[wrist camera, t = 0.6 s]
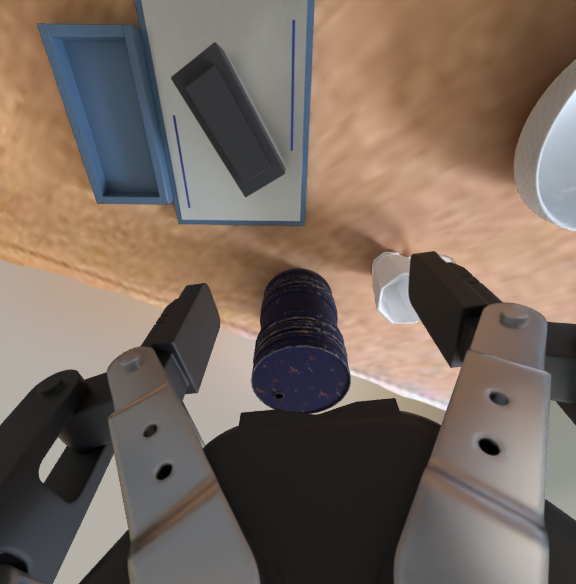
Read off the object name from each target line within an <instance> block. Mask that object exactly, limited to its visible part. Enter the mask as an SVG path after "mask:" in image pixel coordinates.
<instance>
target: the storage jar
mask: <svg viewBox="0 0 576 584" xmlns="http://www.w3.org/2000/svg"><path fill="white" fill-rule="evenodd" d="M337 320H338V319H337V310H336V306H335V302H334V298H333V296H332V292H331V289H330V287H329V285H328V283H327V282H326V281H325V279H324V278H322V277H321V276H320V275H318V274H317V273H315V272H312V271H309V270H305V269H292V270H288V271H284V272H282V273H280V274H278V275H277V276H275V277H274V278H273V279H272V280H271V281H270V282H269V284H268V285H267V287H266V289H265V293H264V298H263V302H262V306H261V316H260V325H261V331H260V332H259V335H258V337H257V340H256V345H255V352H254V359H253V363H254V365H253V371H252V379H251V383H252V388H253V391H254V393H255V394H256V396H257V397H258V398H259V399H260V401H262V402H263V403H264V404H265V405H267V406H269V407H270V408H272V409H279V410H285V411H292V412H299V413H306V414H313V413H318V412H321V411H324V410H327V409H329V408H331V407H333V406H334V405H336V404H337V403H338V402H340V401H341V400H342V399H343V398H344V397H345V395H346V394H347V392H348V390H349V387H350V384H351V376H350V371H349V367H348V362H347V353H346V349H345V345H344V340H343V336H342V334H341V332H340V331H339V329H338V327H337Z"/></svg>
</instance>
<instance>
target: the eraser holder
mask: <svg viewBox="0 0 576 584" xmlns="http://www.w3.org/2000/svg"><path fill="white" fill-rule="evenodd" d="M37 26H38V29H39V32H40V35H41V38H42V41H43V44H44V47H45V50H46V53H47V56H48V59H49V62H50V65H51V67H52V70H53V73H54V76H55V79H56V82H57V85H58V88H59V91H60V94H61V97H62V100H63V103H64V106H65V109H66V112H67V115H68V118H69V121H70V124H71V127H72V130H73V133H74V136H75V139H76V142H77V145H78V148H79V151H80V154H81V157H82V160H83V163H84V166H85V169H86V172H87V175H88V178H89V181H90V184H91V187H92V190H93V193H94V196H95V199H96V202H97V204H160V205H161V204H162V205H168V204H170V203H171V202H173V201H174V199H173V193H172V188H171V183H170V178H169V173H168V168H167V163H166V158H165V153H164V147H163V142H162V137H161V132H160V127H159V122H158V117H157V112H156V106H155V101H154V96H153V91H152V86H151V81H150V76H149V71H148V65H147V60H146V55H145V50H144V45H143V40H142V35H141V30H139V29H138V28H136V27H134V26H132V25H114V24H37Z"/></svg>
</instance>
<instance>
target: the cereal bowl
mask: <svg viewBox="0 0 576 584" xmlns="http://www.w3.org/2000/svg"><path fill="white" fill-rule="evenodd" d="M513 168H514V179H515V184H516V186H517V190H518V192H519V194H520V196H521V198H522V199H523V201H524V203H525V204H526V205H527V206H528V207H529V209H531V210H532V211H533V212H534V213H536V214H537V215H538V216H539V217H541V218H543V219H544V220H546V221H549V222H550V223H552V224H555V225H557V226H558V227H563V228H565V229H567V230H573V231H576V59H575V60H574V61H573V62H572V63H571V64H570V65H569V66H568V67H567V68H565V69H564V70H563V71H562V73H561V74H560V75H559V76H558V77H556V79H555V80H554V81H553V82H552V84H551V85H550V86H549V87H548V88H547V89H546V91H545V92H544V93H543V95H542V96H541V98H540V99H539V100H538V101H537V103H536V105H535V107H534V108H533V110H532V111H531V112H530V115H529V117H528V118H527V121H526V123H525V124H524V127H523V130H522V132H521V135H520V136H519V140H518V144H517V146H516V151H515V158H514V167H513Z"/></svg>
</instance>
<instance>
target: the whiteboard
mask: <svg viewBox="0 0 576 584" xmlns="http://www.w3.org/2000/svg"><path fill="white" fill-rule="evenodd" d="M314 1H315V0H135V4H136V9H137V14H138V19H139V25H140V30H141V35H142V40H143V45H144V50H145V55H146V60H147V65H148V71H149V76H150V81H151V86H152V91H153V96H154V101H155V106H156V112H157V117H158V122H159V127H160V132H161V137H162V142H163V147H164V153H165V158H166V163H167V168H168V173H169V178H170V183H171V188H172V193H173V199H174V204H175V209H176V214H177V219H178V224H208V225H283V226H305V212H306V189H307V165H308V142H309V118H310V95H311V71H312V48H313V25H314ZM214 42H216V43H217V44H218V45H219V46H220V47H221V48H222V49H223V50H224V51H225V52H226V54H227V56H228V58H229V59H230V61H231V63H232V65H233V67H234V69H235V71H236V73H237V75H238V77H239V79H240V80H241V82H242V84H243V86H244V88H245V90H246V92H247V94H248V96H249V98H250V100H251V101H252V103H253V105H254V107H255V109H256V111H257V113H258V115H259V117H260V119H261V121H262V122H263V124H264V126H265V128H266V130H267V132H268V134H269V136H270V138H271V140H272V141H273V143H274V145H275V147H276V149H277V151H278V153H279V155H280V157H281V159H282V161H283V162H284V164H285V166H286V171H285V174H284V175H283V176H281V177H279V178H278V179H276V180H274V181H273V182H271V183H269V184H268V185H266V186H264V187H263V188H261V189H259V190H258V191H256V192H254V193H253V194H251V195H249V196H248V197H246V198H245V197H244V195H243V193H242V192H241V190H240V189H239V187H238V185H237V184H236V182H235V181H234V179H233V177H232V176H231V174H230V173H229V171H228V169H227V168H226V166H225V165H224V163H223V161H222V160H221V158H220V157H219V155H218V153H217V152H216V150H215V149H214V147H213V145H212V144H211V142H210V141H209V139H208V137H207V136H206V134H205V133H204V131H203V129H202V128H201V126H200V125H199V123H198V121H197V120H196V118H195V117H194V115H193V113H192V112H191V110H190V109H189V107H188V105H187V104H186V102H185V101H184V99H183V97H182V96H181V94H180V93H179V91H178V89H177V88H176V86H175V85H174V83H173V81H172V80H171V77H172V76H173V75H174V74H175V73H177V72H178V71H179V70H180V69H182V68H183V67H184V66H185V65H187V64H188V63H189V62H190V61H192V60H193V59H194V58H195V57H197V56H198V55H199V54H200V53H202V52H203V51H204V50H205V49H206V48H208V47H209V46H210V45H211V44H213V43H214Z"/></svg>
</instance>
